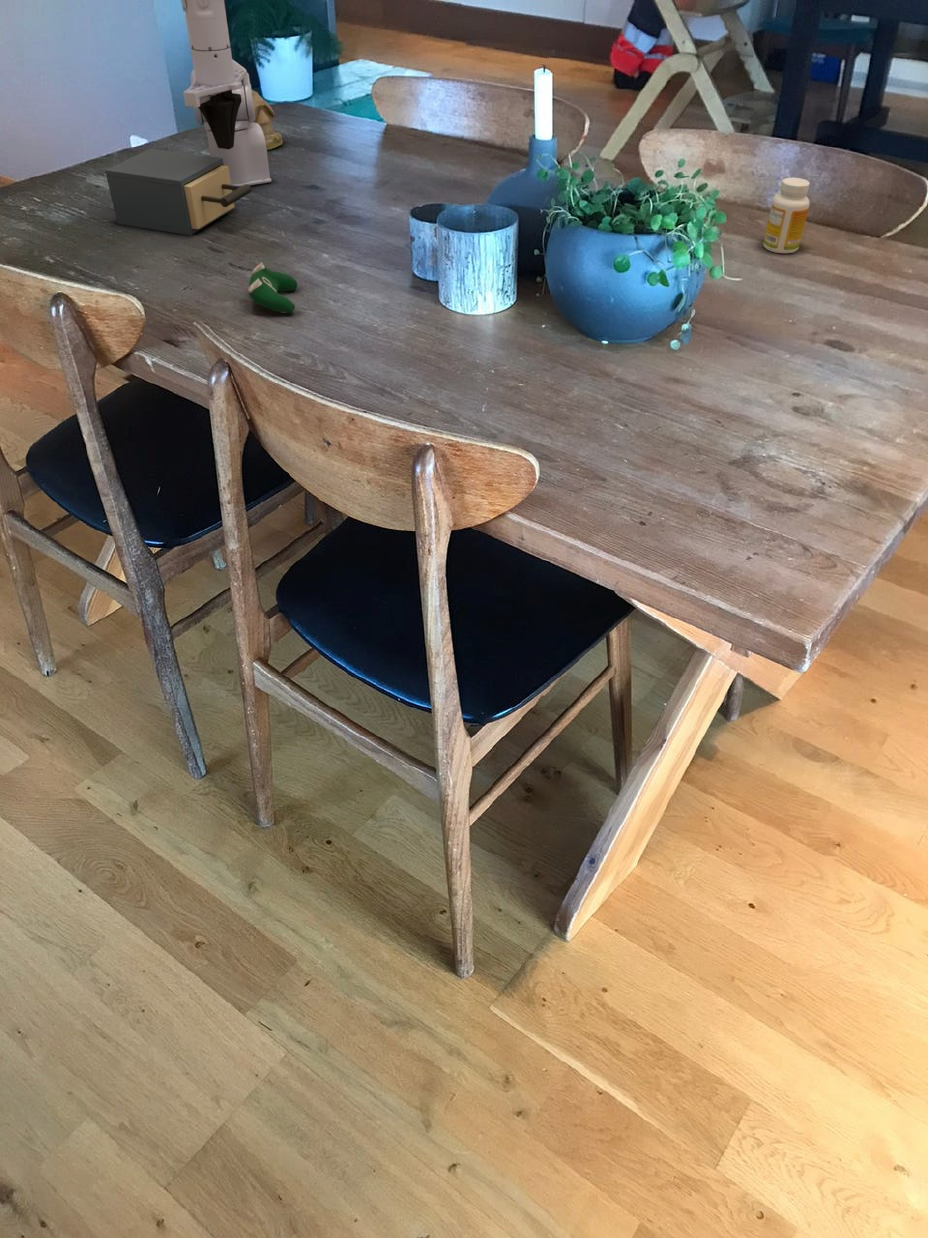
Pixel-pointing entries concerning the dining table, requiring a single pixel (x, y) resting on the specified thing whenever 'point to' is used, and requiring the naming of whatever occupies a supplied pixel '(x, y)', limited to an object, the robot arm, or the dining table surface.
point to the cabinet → (157, 189)
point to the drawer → (212, 196)
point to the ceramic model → (265, 121)
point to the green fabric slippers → (271, 289)
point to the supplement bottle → (787, 216)
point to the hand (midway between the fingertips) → (225, 147)
